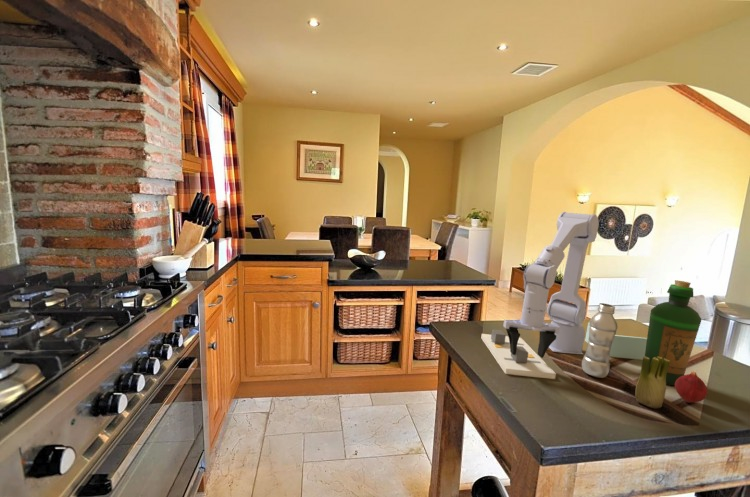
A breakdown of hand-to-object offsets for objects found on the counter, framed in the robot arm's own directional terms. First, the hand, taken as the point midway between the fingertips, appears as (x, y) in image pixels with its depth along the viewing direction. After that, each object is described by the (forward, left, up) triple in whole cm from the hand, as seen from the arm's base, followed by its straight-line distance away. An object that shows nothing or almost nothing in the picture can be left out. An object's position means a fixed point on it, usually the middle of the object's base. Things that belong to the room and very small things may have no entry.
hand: (526, 354), depth 95 cm
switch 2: (+2, 0, -2) cm, 3 cm away
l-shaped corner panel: (-37, -19, -4) cm, 42 cm away
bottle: (-39, -1, -4) cm, 39 cm away
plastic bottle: (-19, +1, -4) cm, 19 cm away
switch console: (+1, -6, -3) cm, 7 cm away
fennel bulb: (-24, +14, -4) cm, 28 cm away
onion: (-36, +11, -4) cm, 37 cm away
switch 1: (+4, -12, -2) cm, 13 cm away
